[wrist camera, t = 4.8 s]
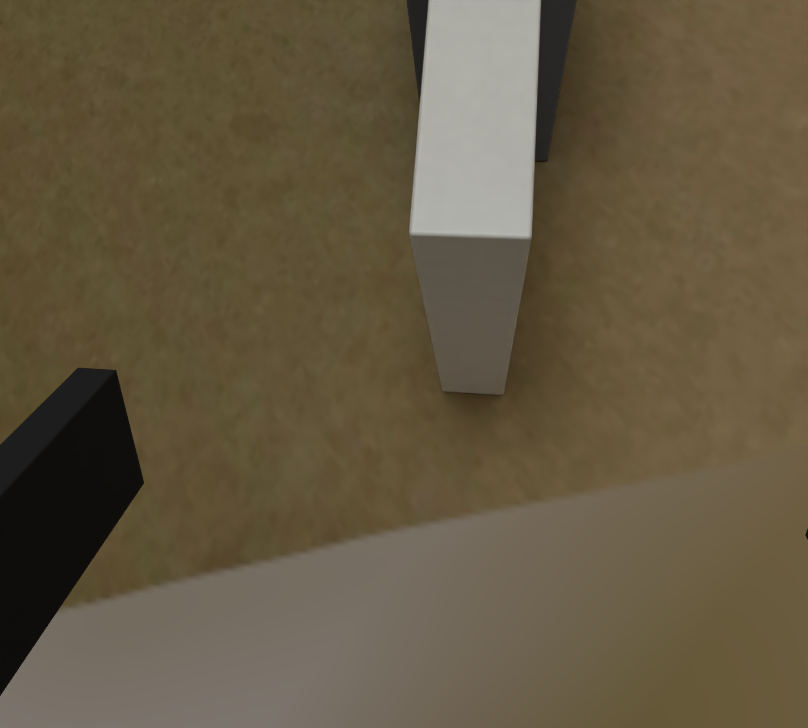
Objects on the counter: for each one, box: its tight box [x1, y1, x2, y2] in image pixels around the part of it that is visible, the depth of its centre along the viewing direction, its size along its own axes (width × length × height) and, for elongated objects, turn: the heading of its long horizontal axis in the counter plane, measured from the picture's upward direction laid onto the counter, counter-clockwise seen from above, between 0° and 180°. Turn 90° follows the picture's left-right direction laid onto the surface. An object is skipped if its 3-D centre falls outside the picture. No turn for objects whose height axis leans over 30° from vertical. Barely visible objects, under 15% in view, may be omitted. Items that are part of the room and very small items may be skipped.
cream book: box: [409, 0, 541, 395], centre depth 23 cm, size 2×9×15 cm, turn 175°
